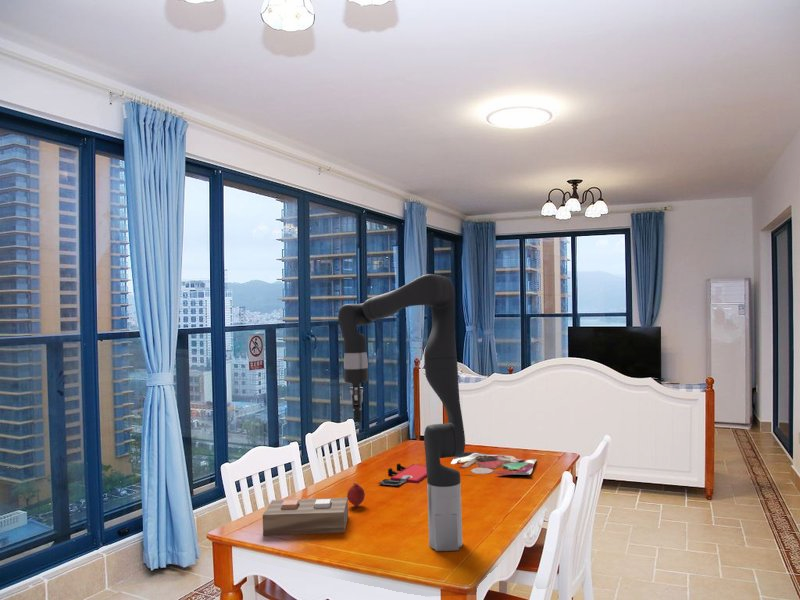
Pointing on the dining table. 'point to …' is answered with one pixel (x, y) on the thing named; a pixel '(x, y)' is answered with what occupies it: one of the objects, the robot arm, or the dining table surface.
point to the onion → (356, 495)
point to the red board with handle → (406, 475)
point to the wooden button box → (305, 518)
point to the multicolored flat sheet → (494, 463)
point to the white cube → (323, 503)
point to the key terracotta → (290, 504)
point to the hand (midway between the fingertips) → (357, 422)
